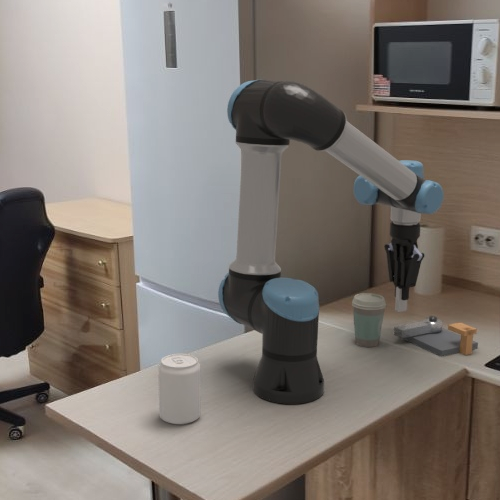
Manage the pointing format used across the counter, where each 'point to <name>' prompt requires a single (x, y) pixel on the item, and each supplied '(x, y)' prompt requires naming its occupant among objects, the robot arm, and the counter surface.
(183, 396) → the beverage can
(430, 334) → the board
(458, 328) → the block
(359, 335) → the coffee cup
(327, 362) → the counter surface
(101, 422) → the counter surface
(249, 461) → the counter surface
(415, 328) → the link
